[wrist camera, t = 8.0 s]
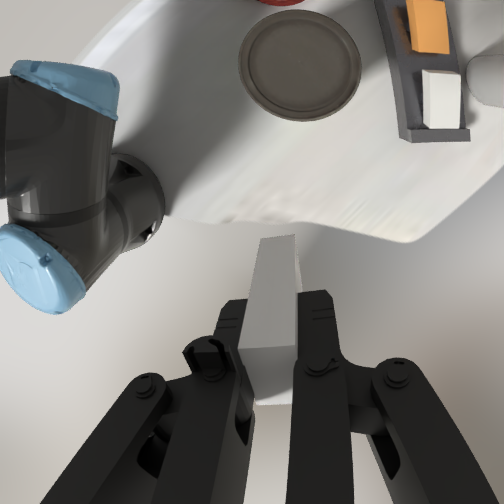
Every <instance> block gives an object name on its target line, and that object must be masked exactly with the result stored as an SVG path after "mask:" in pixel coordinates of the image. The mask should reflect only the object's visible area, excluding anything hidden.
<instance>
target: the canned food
mask: <svg viewBox="0 0 504 504" xmlns="http://www.w3.org/2000/svg"><path fill="white" fill-rule="evenodd" d="M258 1H260V2H262V3H265V4H269V5H273V6H290V5H295V4H298V3H301V2H302V1H304V0H258Z"/></svg>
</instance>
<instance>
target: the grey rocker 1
mask: <svg viewBox="0 0 504 504" xmlns="http://www.w3.org/2000/svg"><path fill="white" fill-rule="evenodd" d="M422 78H423V123H424V124H425V125H426V126H427V127H429V128H430V129H459V124H460V101H461V75H459V74H457V73H455V72H453V71H441V70H422Z"/></svg>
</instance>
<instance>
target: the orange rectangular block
mask: <svg viewBox="0 0 504 504" xmlns="http://www.w3.org/2000/svg"><path fill="white" fill-rule="evenodd" d="M406 4H407V11H408V17H409V25H410V33H411V43H412V50H415V51H418V52H429V53H442V54H449V38H448V27H447V17H446V9H445V2H442V1H436V0H406Z"/></svg>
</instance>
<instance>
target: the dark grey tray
mask: <svg viewBox="0 0 504 504" xmlns="http://www.w3.org/2000/svg"><path fill="white" fill-rule="evenodd" d="M436 1H442V2H443V0H436ZM374 3H375V6H376V10H377V14H378V17H379V21H380V25H381V29H382V33H383V38H384V42H385V47H386V51H387V56H388V61H389V67H390V72H391V78H392V84H393V90H394V97H395V104H396V112H397V120H398V129H399V138H401V139H404V140H406V141H408V142H411V143H422V142H462V141H470V129H467V128H465V115H464V104H463V95H462V87H461V101H460V124H459V129H430V128H429V127H427V126H426V125H425V124H424V123H423V78H422V70H441V71H453V72H455V73H457V74H459V75H460V73H459V67H458V61H457V56H456V50H455V45H454V41H453V36H452V32H451V28H450V24H449V20H448V16H447V12H446V17H447V27H448V38H449V54H442V53H429V52H418V51H415V50H412V43H411V33H410V25H409V17H408V11H407V4H406V0H374Z"/></svg>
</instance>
